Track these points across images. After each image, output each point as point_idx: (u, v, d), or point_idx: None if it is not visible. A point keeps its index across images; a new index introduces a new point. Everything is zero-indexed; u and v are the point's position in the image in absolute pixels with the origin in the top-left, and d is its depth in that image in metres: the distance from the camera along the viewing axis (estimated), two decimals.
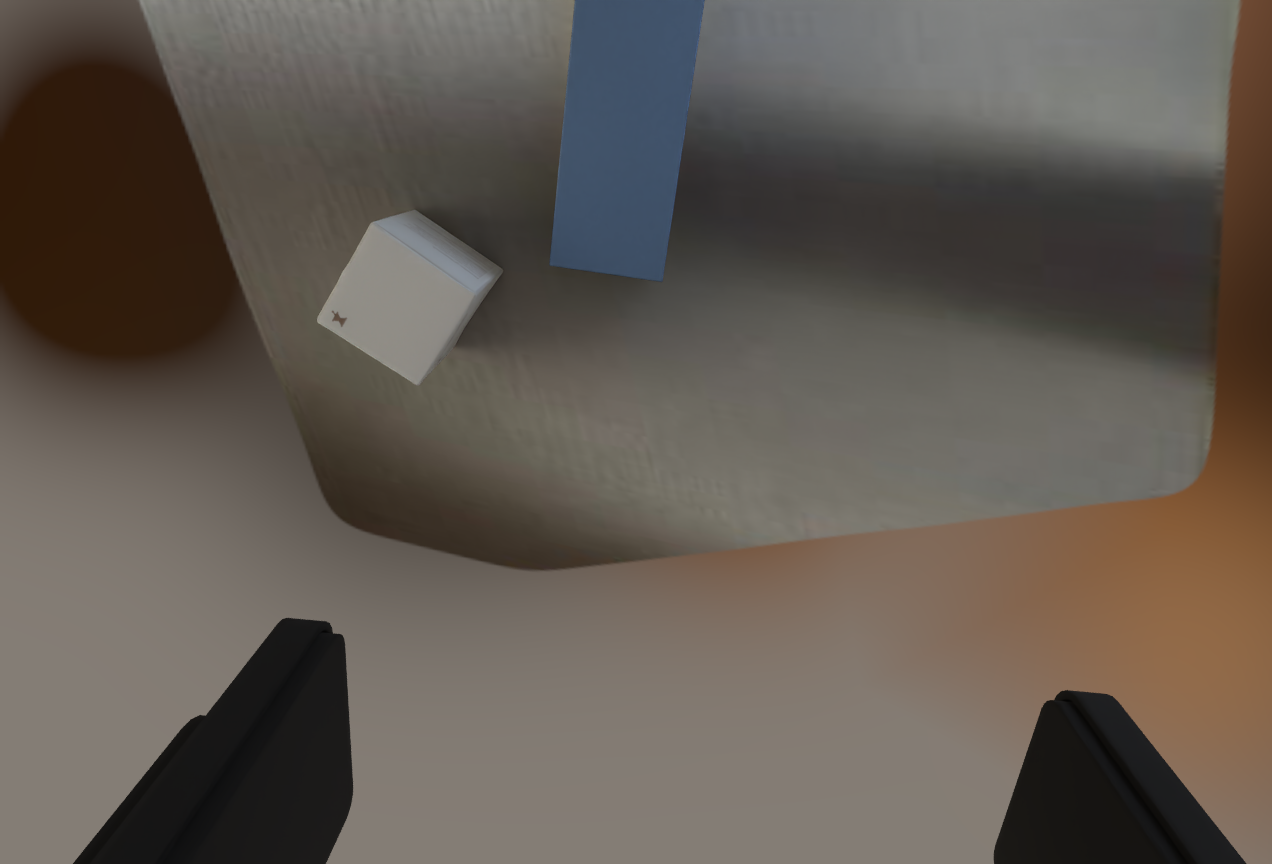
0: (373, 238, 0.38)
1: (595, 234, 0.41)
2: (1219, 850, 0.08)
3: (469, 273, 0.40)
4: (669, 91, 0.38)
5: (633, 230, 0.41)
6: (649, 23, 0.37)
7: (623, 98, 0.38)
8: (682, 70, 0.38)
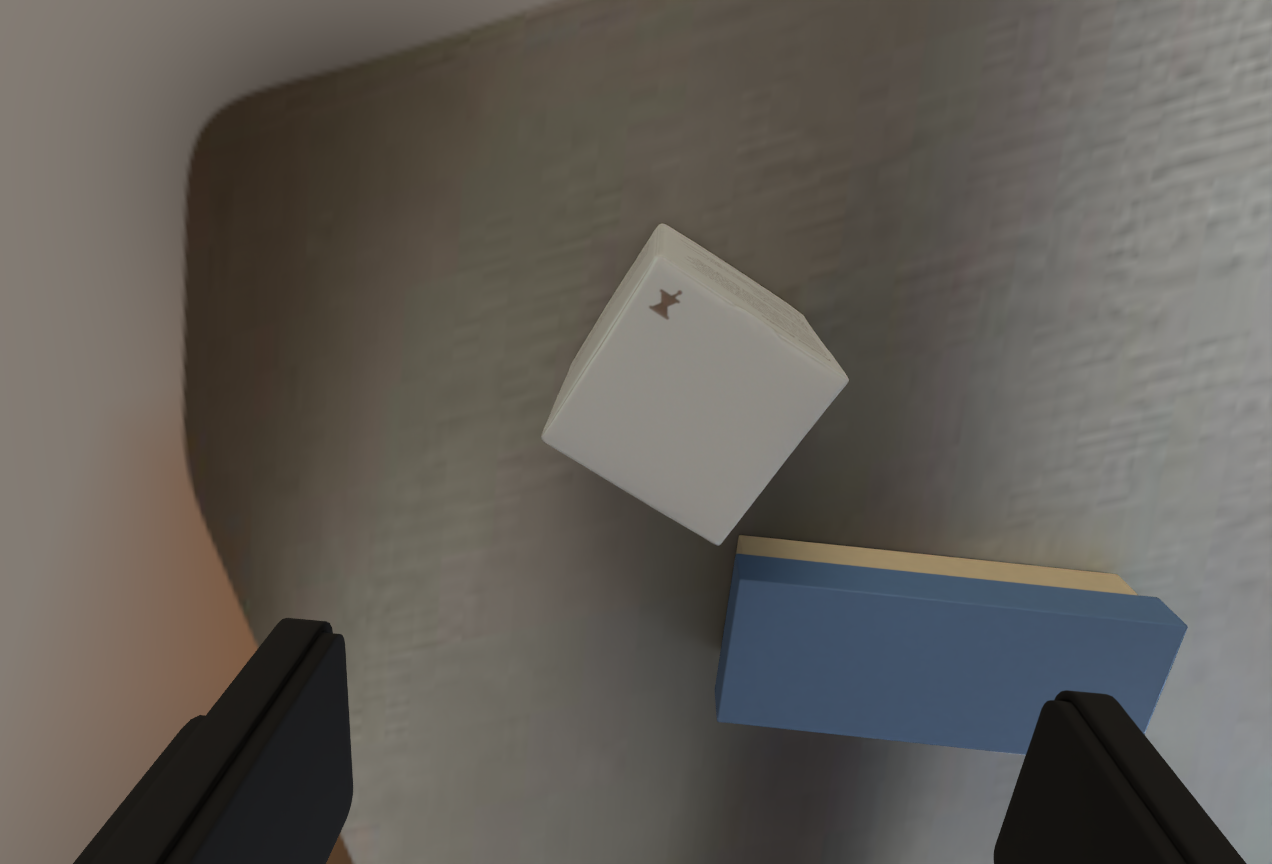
0: (820, 382, 0.20)
1: (786, 641, 0.27)
2: (1219, 850, 0.08)
3: None
4: (977, 727, 0.28)
5: (791, 687, 0.28)
6: None
7: (974, 675, 0.27)
8: (1000, 741, 0.28)
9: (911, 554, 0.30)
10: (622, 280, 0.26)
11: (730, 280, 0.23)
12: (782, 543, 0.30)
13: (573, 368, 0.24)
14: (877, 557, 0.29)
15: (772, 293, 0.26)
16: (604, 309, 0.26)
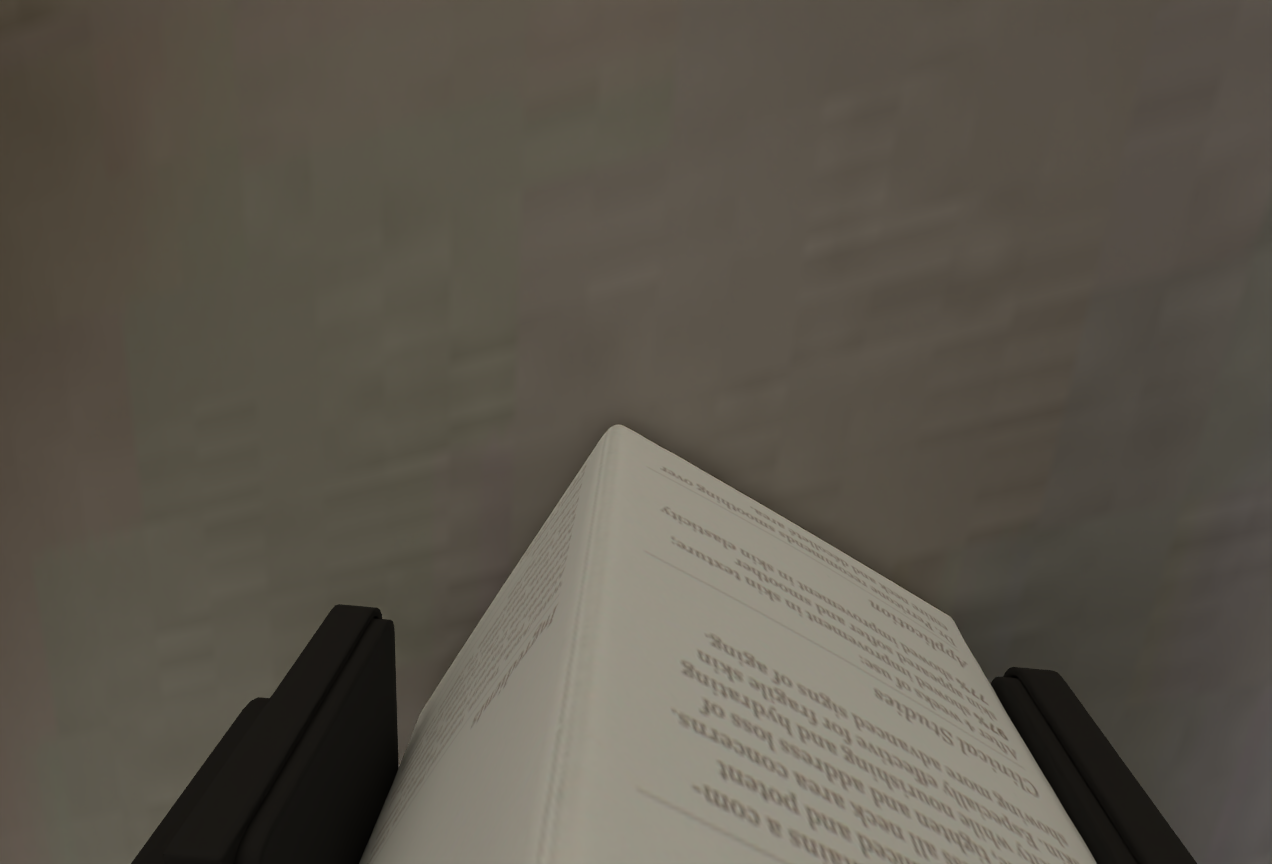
0: None
1: None
2: (1145, 813, 0.08)
3: None
4: None
5: None
6: None
7: None
8: None
9: None
10: (518, 571, 0.10)
11: (815, 687, 0.07)
12: None
13: None
14: None
15: (885, 581, 0.11)
16: (475, 640, 0.10)
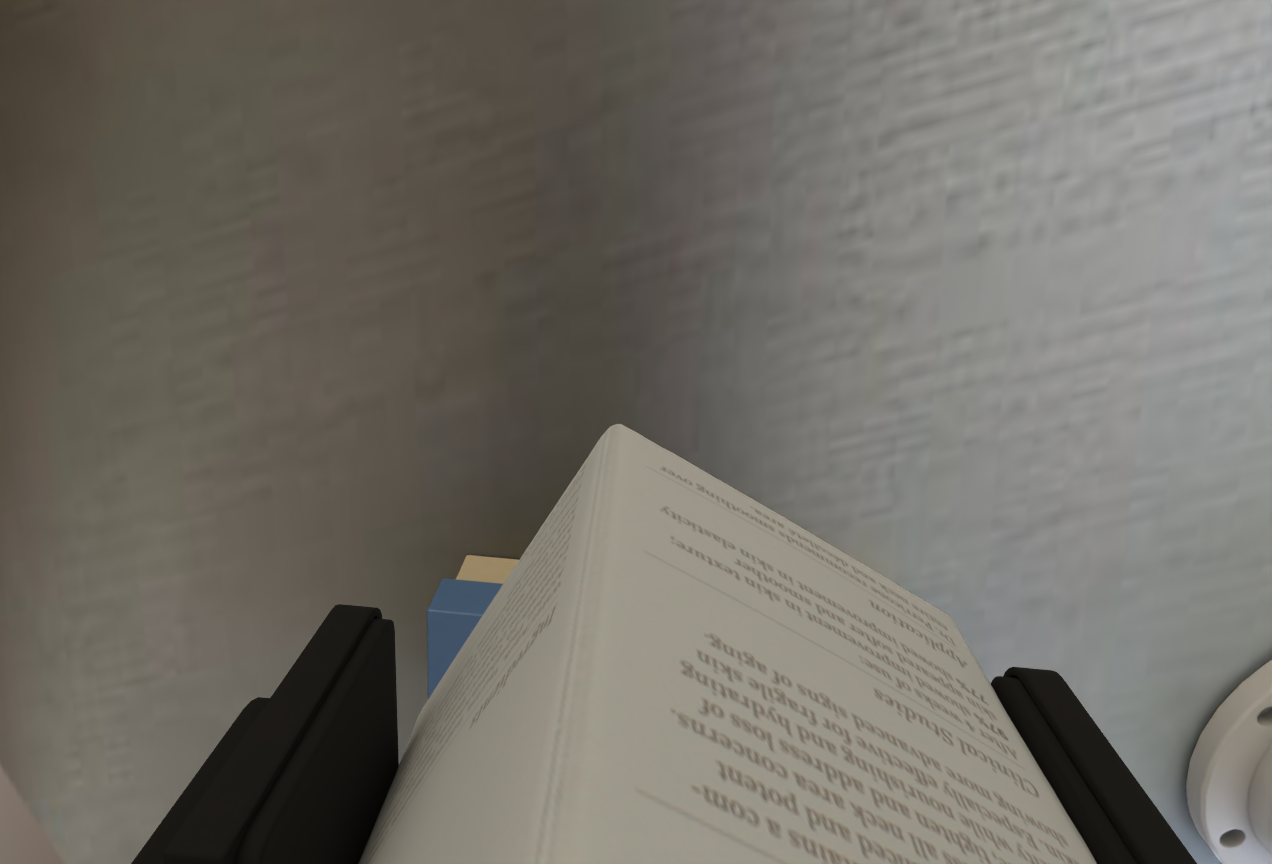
0: None
1: None
2: (1144, 813, 0.08)
3: None
4: None
5: None
6: None
7: None
8: None
9: None
10: (518, 570, 0.10)
11: (814, 687, 0.07)
12: (513, 564, 0.26)
13: None
14: None
15: (884, 581, 0.11)
16: (475, 640, 0.10)
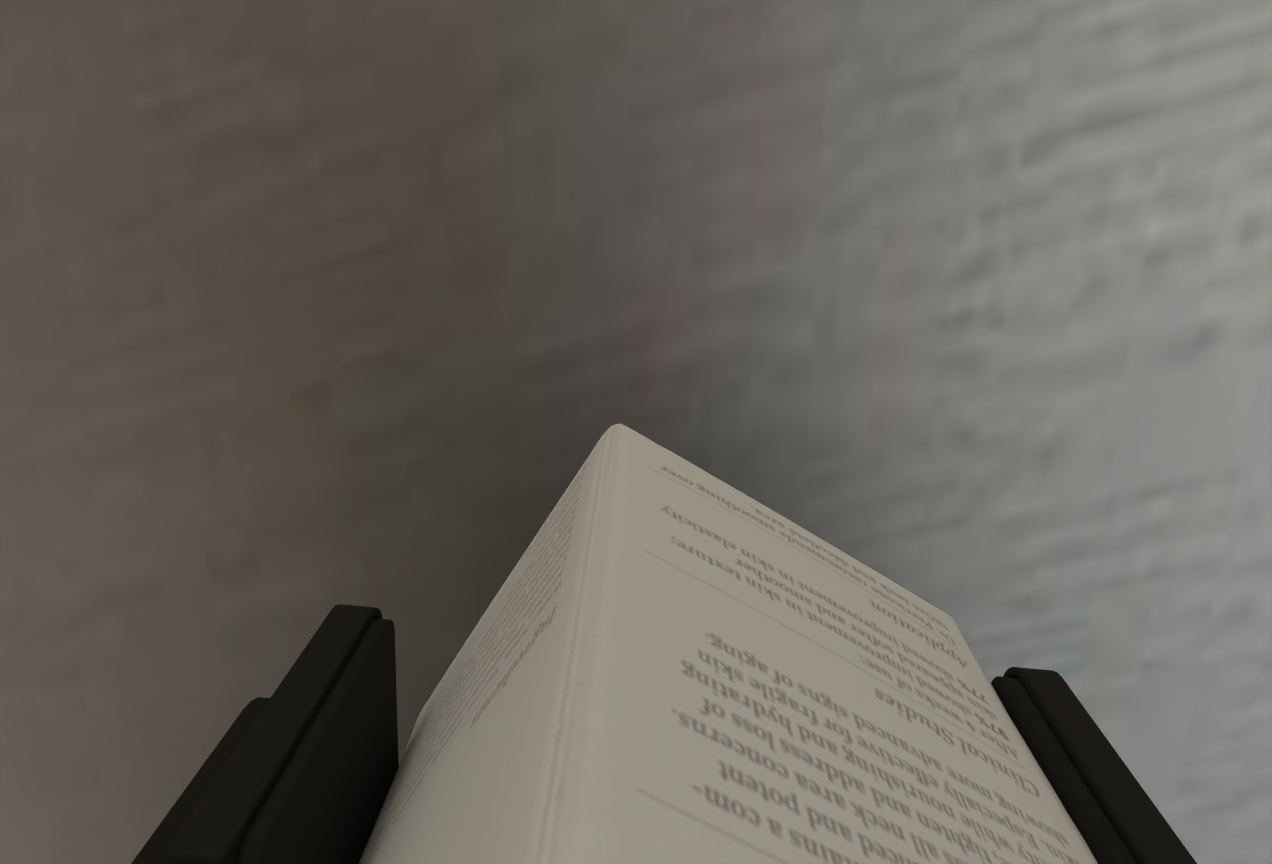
0: None
1: None
2: (1144, 813, 0.08)
3: None
4: None
5: None
6: None
7: None
8: None
9: None
10: (518, 570, 0.10)
11: (815, 687, 0.07)
12: None
13: None
14: None
15: (885, 581, 0.11)
16: (475, 640, 0.10)
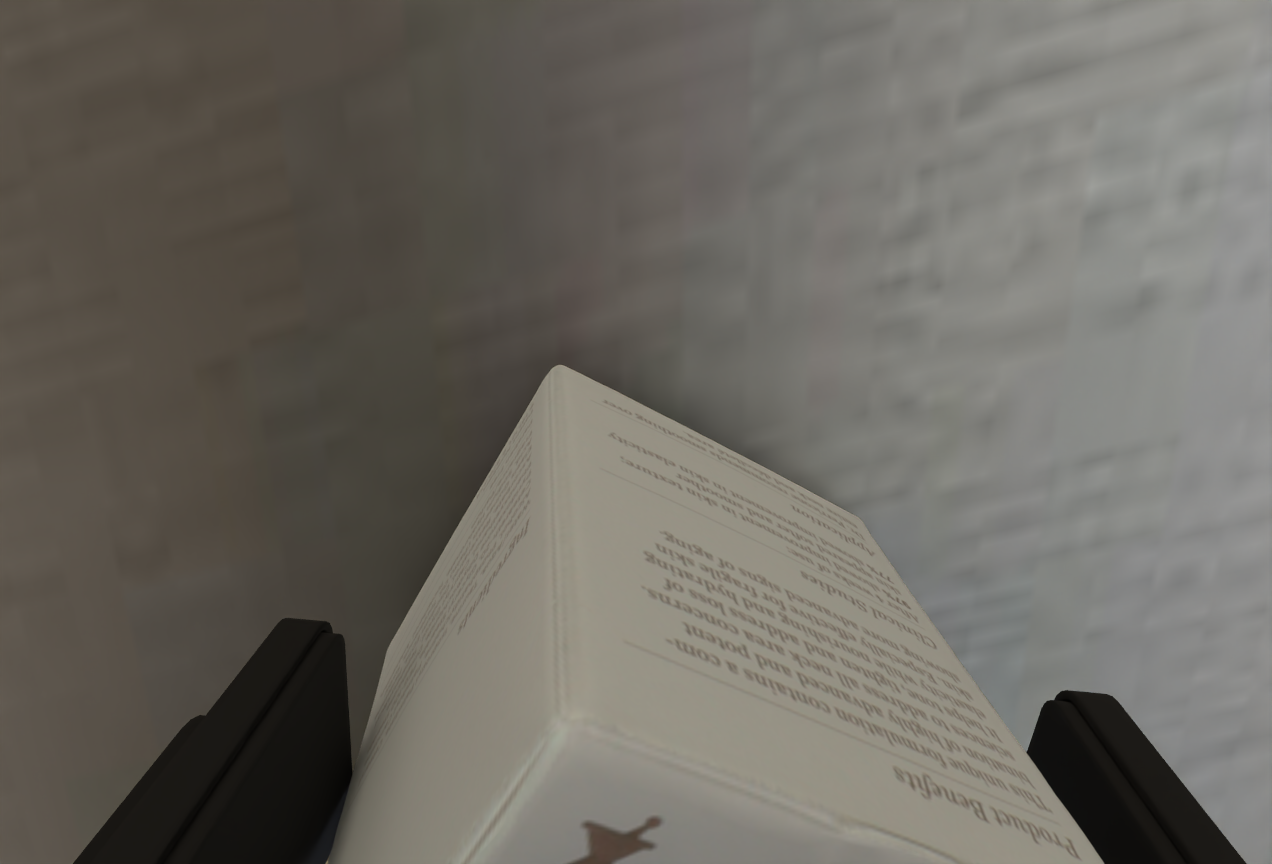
0: None
1: None
2: (1219, 850, 0.08)
3: None
4: None
5: None
6: None
7: None
8: None
9: None
10: (477, 504, 0.11)
11: (752, 570, 0.09)
12: None
13: (367, 772, 0.10)
14: None
15: (802, 490, 0.12)
16: (441, 571, 0.11)
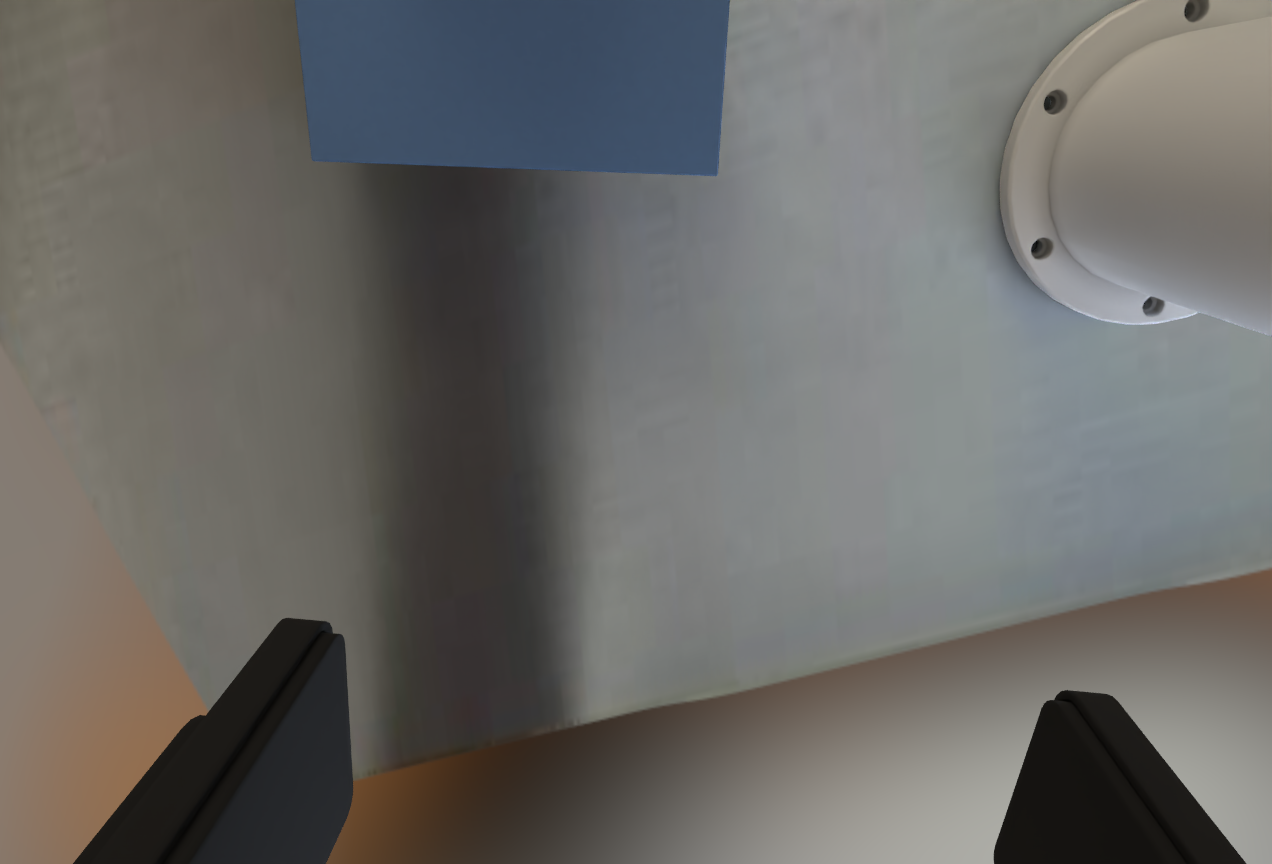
0: None
1: (354, 50, 0.28)
2: (1219, 850, 0.08)
3: None
4: (559, 140, 0.29)
5: (371, 109, 0.28)
6: (636, 102, 0.28)
7: (541, 74, 0.28)
8: (585, 156, 0.29)
9: None
10: None
11: None
12: None
13: None
14: None
15: None
16: None
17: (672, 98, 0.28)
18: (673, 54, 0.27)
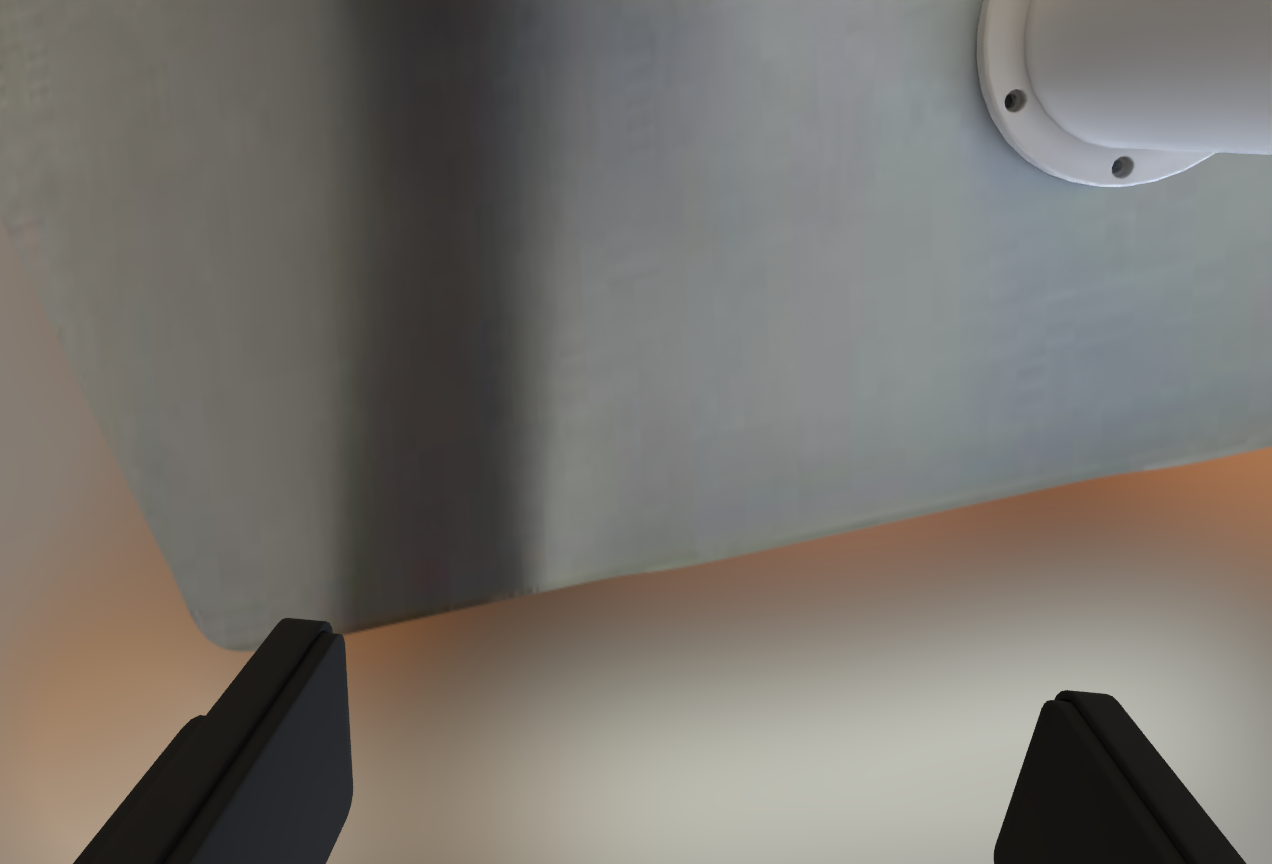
0: None
1: None
2: (1218, 850, 0.08)
3: None
4: None
5: None
6: None
7: None
8: None
9: None
10: None
11: None
12: None
13: None
14: None
15: None
16: None
17: None
18: None
